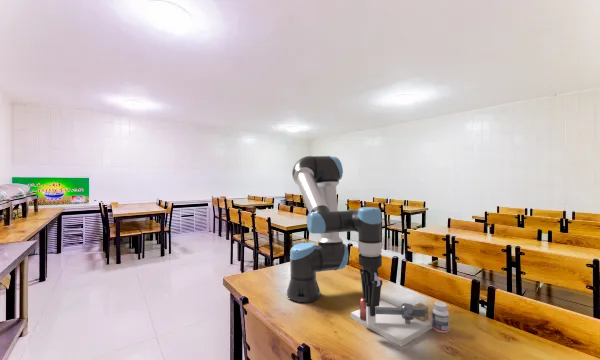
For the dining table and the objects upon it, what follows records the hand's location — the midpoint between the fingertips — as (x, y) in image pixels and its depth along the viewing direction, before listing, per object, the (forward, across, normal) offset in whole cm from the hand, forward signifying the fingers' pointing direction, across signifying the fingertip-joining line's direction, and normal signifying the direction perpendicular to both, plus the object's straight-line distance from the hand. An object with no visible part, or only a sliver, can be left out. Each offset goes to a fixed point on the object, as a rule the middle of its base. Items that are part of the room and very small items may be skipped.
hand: (371, 323), depth 91 cm
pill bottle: (+5, 0, -26) cm, 26 cm away
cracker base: (+4, +7, -10) cm, 13 cm away
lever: (+1, +4, -9) cm, 10 cm away
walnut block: (+2, +4, -21) cm, 22 cm away
